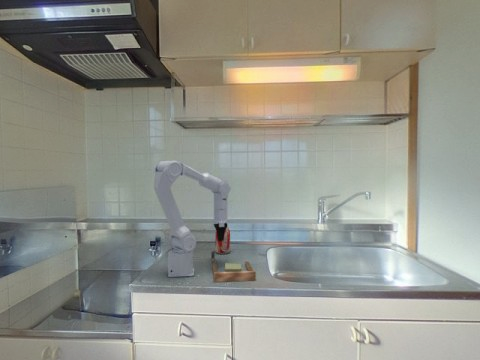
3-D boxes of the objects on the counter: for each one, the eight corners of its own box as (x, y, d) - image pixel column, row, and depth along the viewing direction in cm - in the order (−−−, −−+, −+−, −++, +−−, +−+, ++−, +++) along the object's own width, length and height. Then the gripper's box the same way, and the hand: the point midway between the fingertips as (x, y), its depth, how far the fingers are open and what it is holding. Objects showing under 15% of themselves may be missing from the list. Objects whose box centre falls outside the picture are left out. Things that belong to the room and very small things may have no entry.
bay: (214, 282, 112) (214, 273, 112) (212, 266, 129) (212, 259, 129) (255, 280, 114) (255, 272, 113) (248, 265, 131) (248, 258, 131)
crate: (224, 280, 114) (224, 269, 114) (225, 273, 121) (225, 263, 121) (241, 280, 114) (241, 269, 114) (241, 273, 122) (241, 262, 121)
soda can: (217, 255, 145) (216, 229, 145) (214, 251, 152) (214, 226, 152) (231, 254, 147) (231, 228, 147) (228, 250, 154) (228, 226, 153)
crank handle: (215, 263, 133) (215, 256, 133) (211, 263, 133) (211, 256, 133) (214, 257, 141) (214, 251, 141) (211, 257, 141) (211, 251, 141)
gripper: (231, 211, 125) (231, 244, 125) (228, 206, 139) (228, 236, 140) (214, 211, 124) (214, 245, 124) (212, 206, 138) (212, 237, 139)
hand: (220, 240), depth 132 cm, fingers closed
